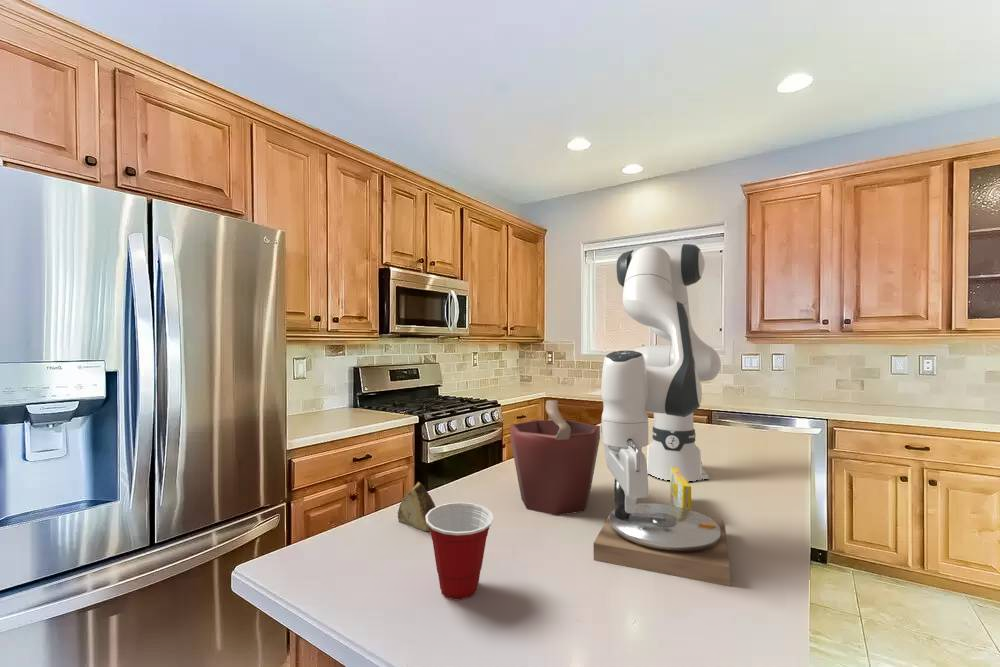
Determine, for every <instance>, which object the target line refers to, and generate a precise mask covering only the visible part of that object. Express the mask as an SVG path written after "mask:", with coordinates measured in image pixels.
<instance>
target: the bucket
mask: <svg viewBox="0 0 1000 667" xmlns="http://www.w3.org/2000/svg"><path fill="white" fill-rule="evenodd" d="M545 411H546V413H547V415H548V416H547V417H548V419H546V420H545V419H533V420H528V421H523V422H516V423H512V424H511V423H510V424H509V438H510V444H511V448H512V455H513V459H514V464H515V465H514V466H515V471H516V476H517V481H518V488H519V492H520V497H521V499H520V500H522V502H523V505H524V507H525V509H526V510H527V511H529V510H530V511H534V512H538V513H543V514H546V515H547V514H548V515H551V516H561V515H560V514H562V515H567V513H569V514H575V513H574V512H576V513H581V512H580V511H583V512H585V511H584V510H586V509H585V508H587V506H588V504H589V502H588V501H590V496H591V490H592V486H593V485H592V484H593V480H594V474H595V473H594V472H595V470H596V469H595V467H596V461H597V456H598V452H599V446H600V440H601V426H600V425H596V424H590V423H587V422H581V421H576V420H565V418H563V416H562V413H561V412H560V409H559V401H558V400H557V399H555V400H550V399H548V400H546V401H545ZM587 503H588V504H587Z"/></svg>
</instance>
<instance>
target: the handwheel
mask: <svg viewBox="0 0 1000 667" xmlns="http://www.w3.org/2000/svg"><path fill="white" fill-rule="evenodd" d="M624 501H625V494H624V491H623V489H622V488H621V486H620V485H619V483H618V482H617V480H616V479H615V478H614V506H615V510H613V511H612V510H611V511H612V512H611V511H610V513H611V514H610V513H609V515H610V526H611V528H612V529H613V530H614V531H615V532H616V533H617V534H618V535H620V536H622V537H623V538H625V539H628V540H630V541H632V542H635V543H638V544H641V545H645V546H649V547H653V548H658V549H665V550H675V551H692V550H700V549H705V548H709V547H712V546H714V545H715V544H717V543H718V542H719V540H720V527H719V525H718V524H717V523H716V522H715V521H714V520H712V519H711V518H712V517H709V516H707V515H705V514H703V513H701V512H698V511H695V510H692V509H691V510H689V509H686V508H681V507H677V506H673V505H670V504H662V503H649V502H648V503H644V502H643V503H636V504H635V513H627V512H626V511H625V509H624Z"/></svg>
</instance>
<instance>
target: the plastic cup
mask: <svg viewBox="0 0 1000 667" xmlns="http://www.w3.org/2000/svg"><path fill="white" fill-rule="evenodd" d="M425 517H426V523H427V525H428V527H429V529H430V531H429V533H430V536H431V540H432V545H433V553H434V559H435V560H434V561H435V566H436V572H437V575H438V581H439V582H438V583H439V588H440V592H441V595H443V597H445V598H447V597H448V599H450V598H451V599H450V600H457V599H459V600H464V599H463V598H466V599H468V598H471V597H472V596H474V595H475V594H476V593H477V590H478V586H479V583H480V576H481V570H482V566H483V560H484V554H485V549H486V543H487V537H488V535H489V534H488V533H489V530H490V527H491V526H492V523H493V521H494V514H493V512H492V511H491V510H490V509H489V508H487V507H486V506H483V505H480V504H476V503H472V502H448V503H445V504H440V505H436V506H435V508H433V509H431V510H430V511H429V512H428V513H427V514H426V516H425Z"/></svg>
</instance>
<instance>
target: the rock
mask: <svg viewBox="0 0 1000 667" xmlns="http://www.w3.org/2000/svg"><path fill="white" fill-rule="evenodd" d="M435 507H436V504H435V502H434V500H433V499H432V497H431V495H430V493H429V492H428V491H427V490H426V487H425V486H424V485H423V484H422V483H421V482H420V481H417V483H416V484H415V485H414V486H413V488H412V489H411V490H409V491H408V493H406V494H405V495H404V497H403V498H402V499H401V502H400V504H399V508H398V511H397V520H398V521H399V522H401V523H404V524H406V525H409V526H412V527H413V528H416V529H419V530H422V531H425V532H430V529H429V527H428V525H427V523H426V517H425V516H426V514H427V513H428V512H429V511H430V510H431V509H433V508H435Z"/></svg>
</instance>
